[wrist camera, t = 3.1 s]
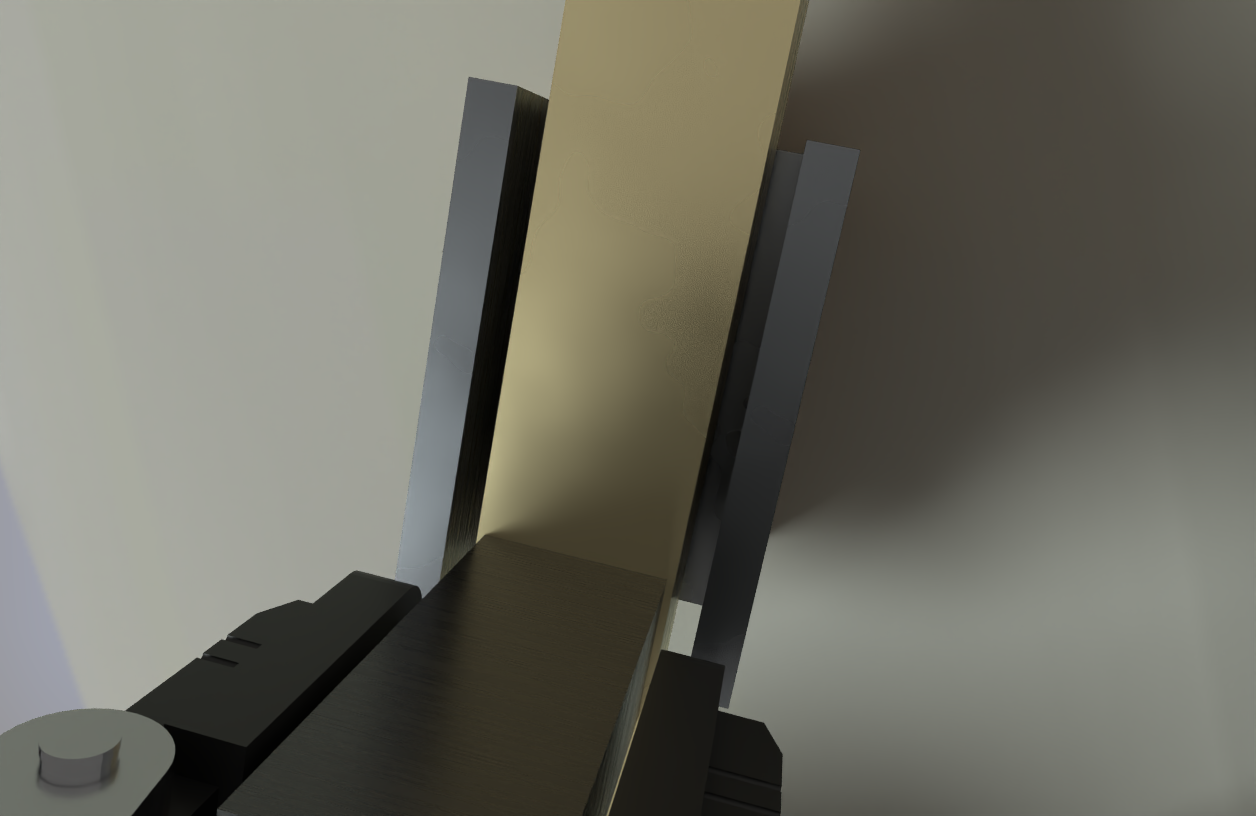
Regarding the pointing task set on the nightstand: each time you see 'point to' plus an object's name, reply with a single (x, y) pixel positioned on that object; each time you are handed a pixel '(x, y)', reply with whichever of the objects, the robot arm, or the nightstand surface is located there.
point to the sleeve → (754, 391)
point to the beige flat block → (577, 438)
